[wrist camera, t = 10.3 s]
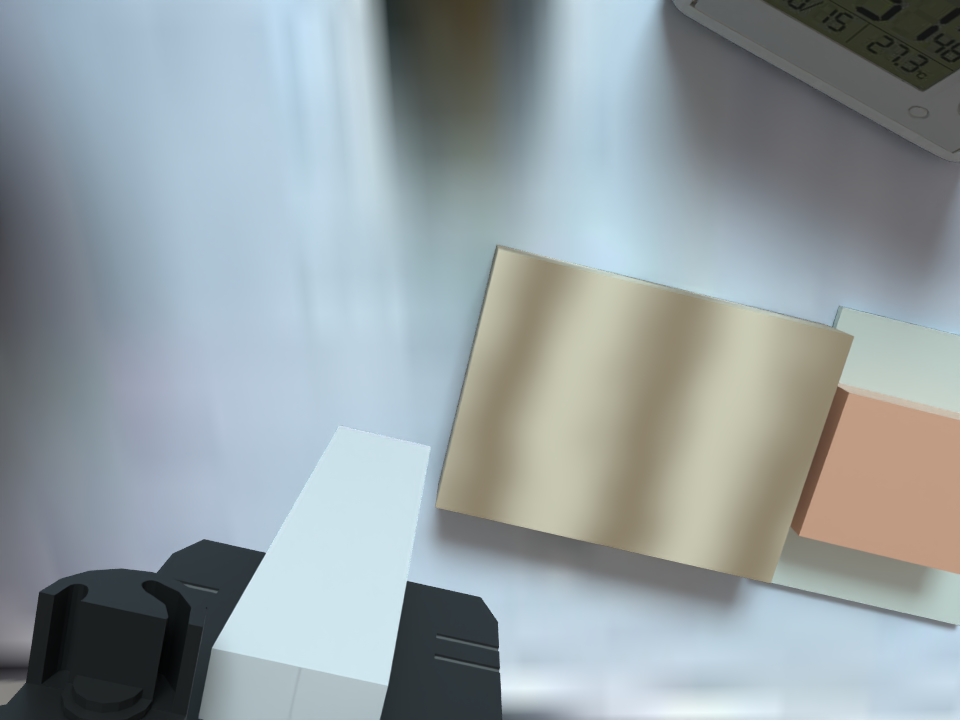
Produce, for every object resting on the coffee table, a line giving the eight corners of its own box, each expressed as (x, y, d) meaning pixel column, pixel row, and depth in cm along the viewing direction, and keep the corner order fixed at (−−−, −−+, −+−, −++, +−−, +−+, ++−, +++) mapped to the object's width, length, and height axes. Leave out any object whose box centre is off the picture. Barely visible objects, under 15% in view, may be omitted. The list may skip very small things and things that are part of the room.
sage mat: (750, 574, 42) (752, 578, 42) (839, 306, 40) (843, 307, 39) (956, 621, 43) (961, 625, 42) (1059, 359, 40) (1065, 361, 40)
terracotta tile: (779, 514, 41) (798, 535, 39) (826, 379, 40) (849, 392, 37) (934, 552, 42) (962, 574, 39) (985, 419, 40) (1018, 434, 38)
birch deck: (438, 484, 41) (435, 507, 38) (496, 244, 39) (498, 249, 36) (750, 555, 42) (770, 583, 39) (826, 324, 40) (854, 336, 37)
